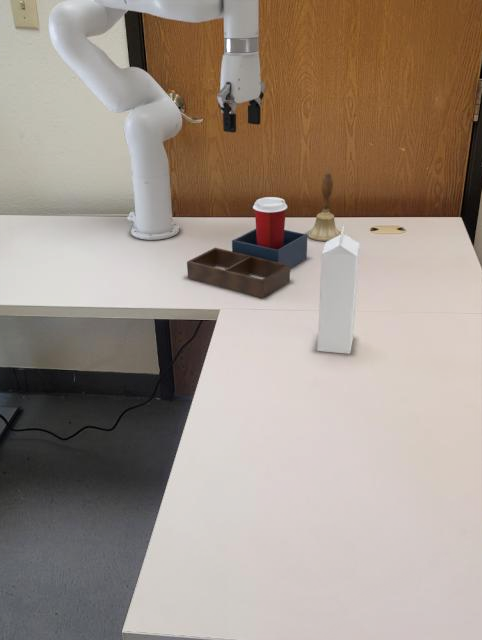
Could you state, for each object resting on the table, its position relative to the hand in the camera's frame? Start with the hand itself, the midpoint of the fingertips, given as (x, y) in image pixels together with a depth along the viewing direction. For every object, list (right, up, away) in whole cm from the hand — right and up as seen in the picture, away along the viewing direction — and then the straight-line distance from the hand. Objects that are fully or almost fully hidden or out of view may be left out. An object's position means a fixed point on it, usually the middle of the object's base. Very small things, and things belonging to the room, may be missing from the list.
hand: (242, 127), depth 166 cm
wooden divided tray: (-1, -36, -5) cm, 36 cm away
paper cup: (+7, -30, +4) cm, 31 cm away
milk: (+16, -52, -32) cm, 64 cm away
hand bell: (+22, -21, +18) cm, 35 cm away
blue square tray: (+7, -30, +4) cm, 31 cm away
